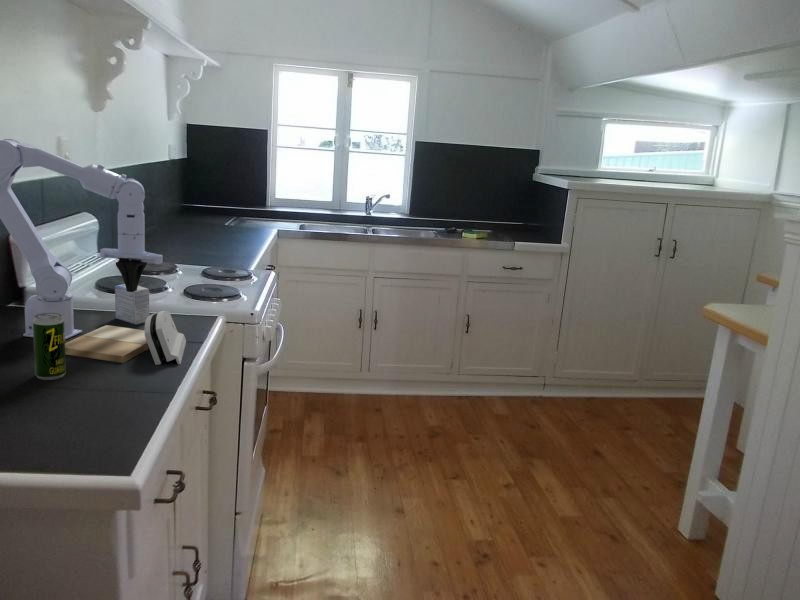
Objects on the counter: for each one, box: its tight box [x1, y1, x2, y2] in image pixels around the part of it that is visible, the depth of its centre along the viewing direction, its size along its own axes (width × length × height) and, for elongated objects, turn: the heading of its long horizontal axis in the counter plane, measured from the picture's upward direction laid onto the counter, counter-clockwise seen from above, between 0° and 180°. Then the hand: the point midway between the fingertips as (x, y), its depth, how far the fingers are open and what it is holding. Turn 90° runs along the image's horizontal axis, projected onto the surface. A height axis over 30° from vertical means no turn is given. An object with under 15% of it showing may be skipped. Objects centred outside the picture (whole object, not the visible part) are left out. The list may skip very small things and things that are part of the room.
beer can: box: [32, 313, 67, 381], centre depth 130 cm, size 5×5×12 cm
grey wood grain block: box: [114, 283, 151, 325], centre depth 170 cm, size 8×4×9 cm, turn 58°
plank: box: [65, 335, 145, 364], centre depth 146 cm, size 15×8×2 cm, turn 80°
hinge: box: [144, 310, 187, 366], centre depth 149 cm, size 17×5×10 cm, turn 13°
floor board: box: [82, 324, 150, 352], centre depth 154 cm, size 15×9×2 cm, turn 80°
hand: (131, 291), depth 158 cm, fingers closed
